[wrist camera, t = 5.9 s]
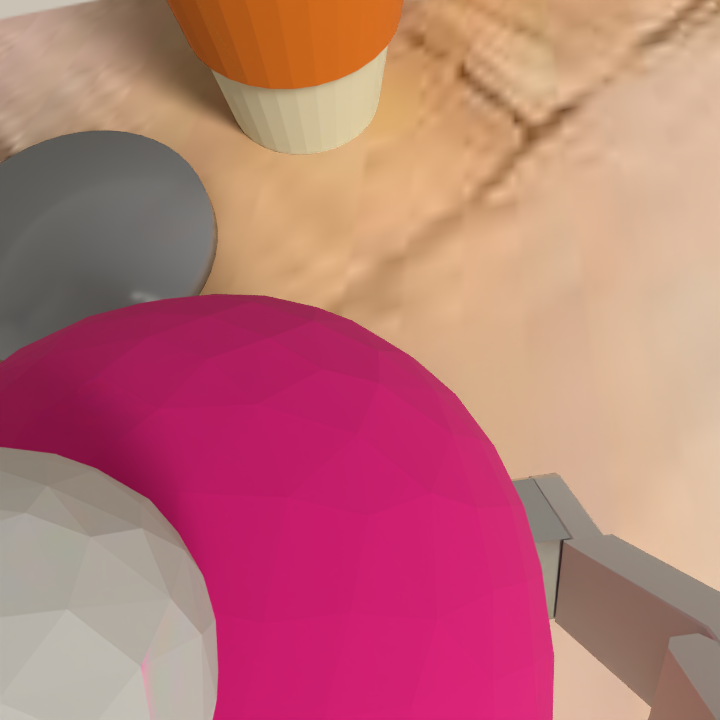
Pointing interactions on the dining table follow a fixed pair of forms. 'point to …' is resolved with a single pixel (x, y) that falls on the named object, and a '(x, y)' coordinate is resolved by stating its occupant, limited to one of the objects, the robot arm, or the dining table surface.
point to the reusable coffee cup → (294, 64)
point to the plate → (97, 231)
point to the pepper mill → (256, 527)
